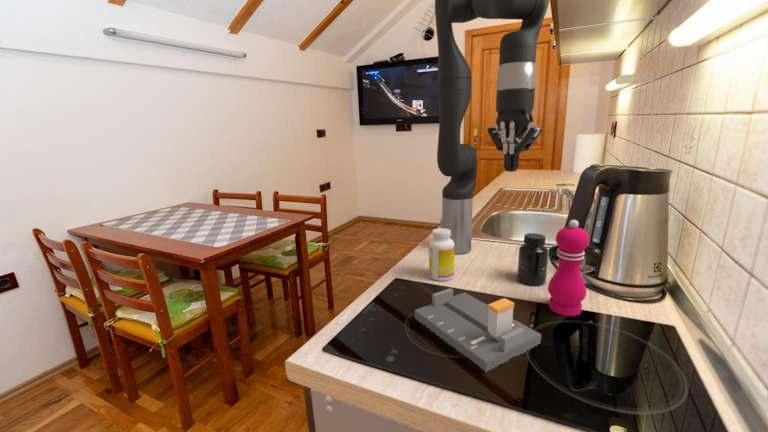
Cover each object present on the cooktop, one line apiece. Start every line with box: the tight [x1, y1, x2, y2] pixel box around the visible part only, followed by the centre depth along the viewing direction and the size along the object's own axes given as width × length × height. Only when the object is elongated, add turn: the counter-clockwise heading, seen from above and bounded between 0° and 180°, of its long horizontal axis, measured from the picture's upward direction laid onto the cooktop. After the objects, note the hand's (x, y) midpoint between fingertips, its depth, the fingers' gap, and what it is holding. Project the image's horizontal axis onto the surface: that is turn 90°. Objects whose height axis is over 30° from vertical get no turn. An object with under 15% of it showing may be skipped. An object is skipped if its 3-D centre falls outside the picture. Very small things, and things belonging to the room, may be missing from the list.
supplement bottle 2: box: [516, 232, 549, 287], centre depth 89 cm, size 7×7×12 cm
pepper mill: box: [547, 219, 590, 317], centre depth 74 cm, size 7×7×20 cm
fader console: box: [414, 288, 542, 373], centre depth 69 cm, size 20×14×4 cm
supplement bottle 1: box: [428, 227, 455, 282], centre depth 93 cm, size 7×7×13 cm
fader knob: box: [487, 297, 515, 341], centre depth 63 cm, size 2×4×6 cm, turn 121°
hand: (510, 171), depth 78 cm, fingers closed
